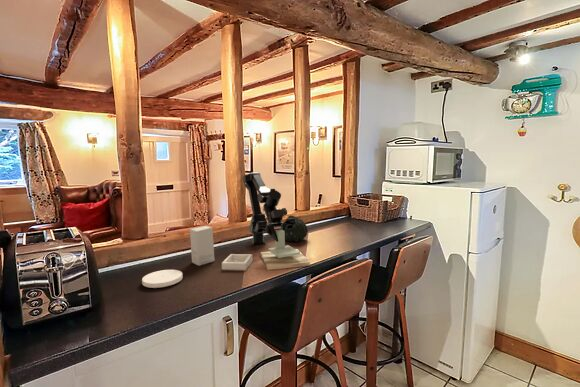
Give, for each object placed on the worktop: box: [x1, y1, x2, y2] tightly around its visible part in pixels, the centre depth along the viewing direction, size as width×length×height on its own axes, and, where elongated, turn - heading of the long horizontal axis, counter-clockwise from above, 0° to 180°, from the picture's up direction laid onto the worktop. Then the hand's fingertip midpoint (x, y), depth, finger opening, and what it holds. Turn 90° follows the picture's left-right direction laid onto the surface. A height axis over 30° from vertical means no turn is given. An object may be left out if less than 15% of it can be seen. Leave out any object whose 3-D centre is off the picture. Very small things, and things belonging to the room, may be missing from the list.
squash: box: [284, 214, 309, 243], centre depth 172 cm, size 14×15×15 cm
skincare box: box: [189, 225, 216, 266], centre depth 137 cm, size 8×7×16 cm
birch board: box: [260, 248, 311, 271], centre depth 138 cm, size 20×18×2 cm
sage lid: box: [267, 229, 301, 258], centre depth 137 cm, size 12×10×10 cm
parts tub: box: [221, 253, 254, 271], centre depth 133 cm, size 12×10×3 cm
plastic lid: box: [141, 269, 184, 289], centre depth 116 cm, size 14×14×2 cm
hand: (281, 240), depth 139 cm, fingers closed on sage lid, 3 cm apart
